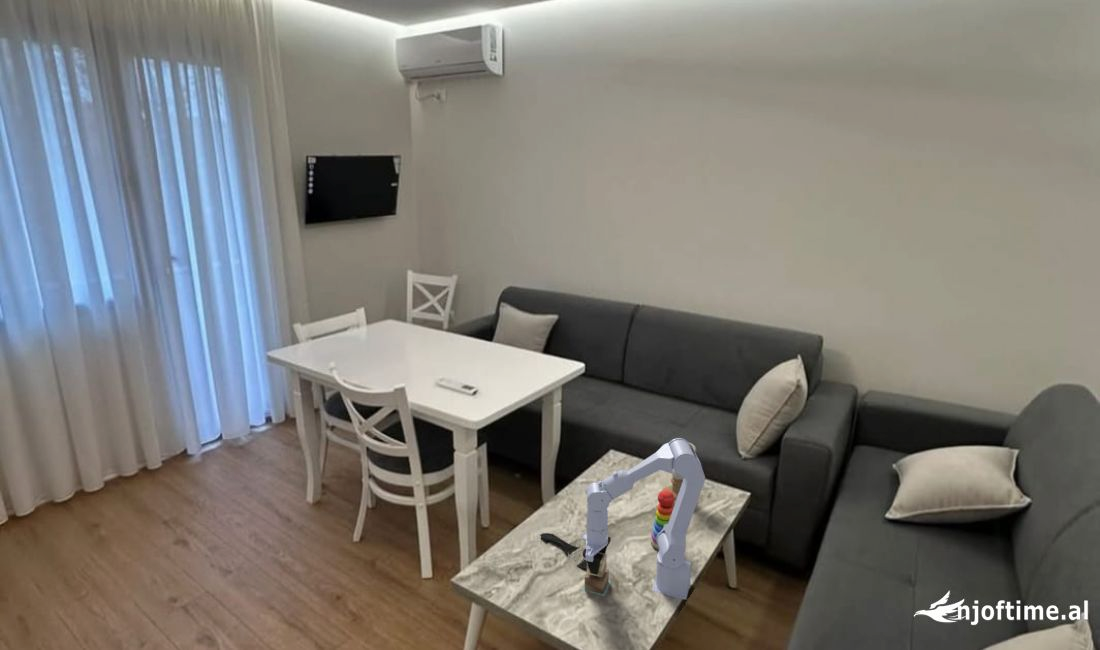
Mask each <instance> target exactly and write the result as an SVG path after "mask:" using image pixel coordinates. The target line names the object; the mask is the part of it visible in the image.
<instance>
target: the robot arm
mask: <svg viewBox="0 0 1100 650" xmlns="http://www.w3.org/2000/svg"><path fill="white" fill-rule="evenodd" d="M688 442H689V441H687V440H686V439H684V438H682V437H677V438H674V439H671V440H669V442H666V443H664V444H662V446H661V447H660V448H659V449H657V451H656V452H654V453H653V454H651V455H650V456H648V457H646V458H645V459H644V460H642V461H640V462H639V463H638V464H636V465H635V466H633V467H631V468H630V469H629V470H625V469H620V470H618V471H617V470H615V471H613V472H612V473H611V475H610V476H608V477H606V478H605V479H602V480H599V481H594V482H592V483H590V484H589V485H588V486H587V488H586V489H585V493H586V501H587V505H586V508H587V509H586V533H585V534H583V535H582V540H583V541H585V545H586V546H585V547H586V548H583V551H582V557H583V559H584V560H586V561H587V563H588V567H589V570H590V573H592V574H596V575H597V574H598V572H599V567H600V562H601V560H602V558H603V556H604V554H607V549H608V547H609V544H610V543H611V540H612V538H611V537H610V536H609V535H608V531H609V529H608V528H609V527H608V526H609V525H608V522H609V521H608V520H609V519H608V516H609V515H608V513H609V512H608V508H609V507H610V504H611V502H613V501H614V500H615V499H617V498H618V497H621V496H622V495H624V494H626V493H627V492H629V491H632V490H633V488H634V485H635V483H636V482H638V481H640V480H643V479H644V478H646V477H649V476H651V475H653V474H655V473H657V472H660V471H663V472H667V473H668V474H669V473H670V474H671V475H672V474H673V469H674V470H675V471H676V472H677V473H678V474H679V475H681V476H683V477H684V479H683V482H682V485H681V488H680V491H679V494H678V497H677V500H676V502H675V505H674V506H673V507H674V508H673V511H672V514H671V517H670V520H669V523H668V524H665V525H664V527H663V529H662V531H661V532H660V533H659V534H658V535H657V538H656V541H657V544H658V546H659V550H658V553H657V555H656V569H655V579H654V582H653V586H652V589H651V590H652V592H655V593H659V594H664V595H666V596H667V595H668V596H669V597H673V598H678V599H682V600H687V597H688V594H689V589H690V588H691V574H692V572H691V570H692V563H691V562H690V561H688V560H686V555H685V552H686V549H687V544H686V543H687V542H686V541H687V537H686V535H687V533H688V529H689V527H690V524H691V521H692V518H693V516H694V514H695V513H694V512H695V510H696V507H697V504H698V501H699V499H700V496H701V493H702V491H703V488H704V484H705V482H706V476H705V473H704V470H703V466H702V463H701V461H700V459H699V457H698V456H697V454H696V452H695V451H694V449H693V447H692V446H691V445H690V444H689V443H690V442H689V443H688ZM668 443H669V444H668ZM598 552H600V553H604V554H599V553H598Z"/></svg>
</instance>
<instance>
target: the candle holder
mask: <svg viewBox="0 0 1100 650" xmlns="http://www.w3.org/2000/svg"><path fill="white" fill-rule="evenodd" d="M667 443H668V444H669V442H667ZM688 443H689V444H690V445H691V446H692V447H693V449H694V451H695V453H696V452H697V447H696V445H694V444H693V443H692V442H689V441H688ZM672 470H673V474H671V478H670V482H671V484H672V485H669V486H668V485H667V486H666V487H664V488H663V489H662V490H669V491H671V492H672V493H673V495H674V503H673V504H672V505H673V507H674V505H675V502H676V500H677V497H678V494H679V491H680V488H681V485H682V482H683V479H684V477H683V476H681V475H679V474H678V473H677V472H676V471H675V470H674V469H672Z"/></svg>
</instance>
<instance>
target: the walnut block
mask: <svg viewBox="0 0 1100 650" xmlns="http://www.w3.org/2000/svg"><path fill="white" fill-rule="evenodd" d="M609 574H610V573H609V569H608V568H606V569H605V572H604V574H603V576H602V577H598V576H594V575H590V574H587V572H586V574H585V575H584V585H585V589H586V590H589V591H593V592H597V593H600V594H603V593H604V591H605V588H606V586H607V584H608V581H609V580H610V579H609Z"/></svg>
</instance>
